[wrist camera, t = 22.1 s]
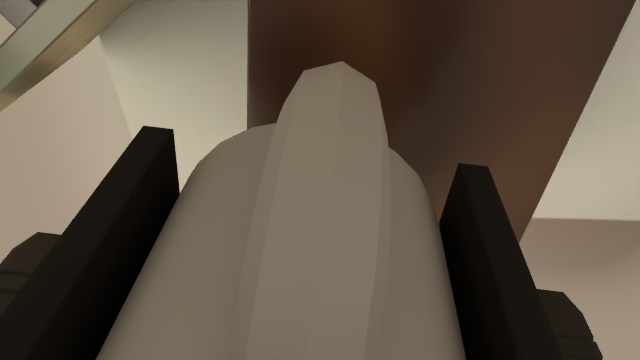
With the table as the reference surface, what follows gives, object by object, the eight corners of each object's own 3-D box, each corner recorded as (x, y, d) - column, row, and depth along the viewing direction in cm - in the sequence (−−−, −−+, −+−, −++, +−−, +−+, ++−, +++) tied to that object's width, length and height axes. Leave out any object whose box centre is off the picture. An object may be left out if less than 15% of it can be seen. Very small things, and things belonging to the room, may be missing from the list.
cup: (186, 286, 16) (39, 667, 8) (177, -34, 10) (-347, 330, 3) (399, 318, 16) (432, 717, 9) (516, 25, 10) (925, 513, 3)
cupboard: (285, 145, 35) (245, 311, 22) (303, -153, 24) (247, -145, 12) (433, 163, 35) (474, 338, 22) (517, -127, 24) (681, -93, 12)
